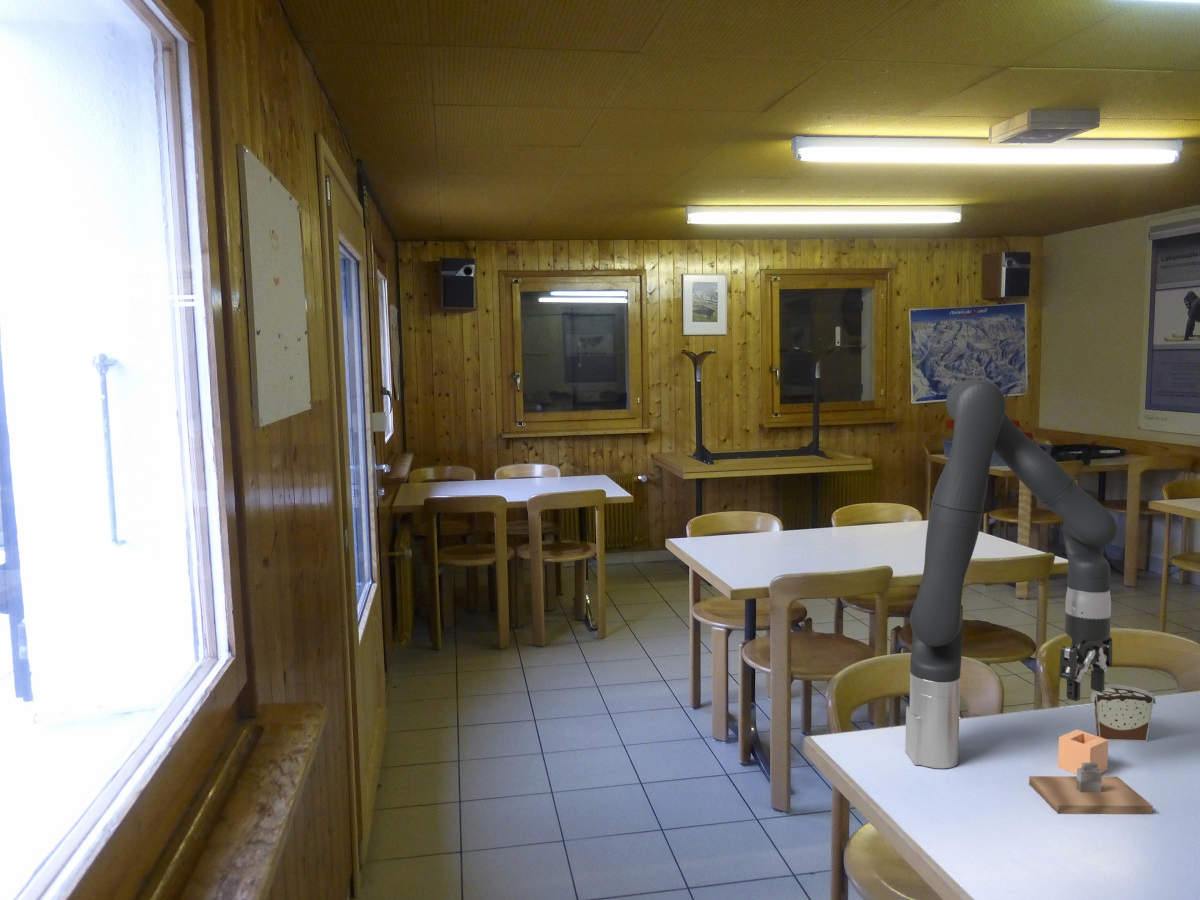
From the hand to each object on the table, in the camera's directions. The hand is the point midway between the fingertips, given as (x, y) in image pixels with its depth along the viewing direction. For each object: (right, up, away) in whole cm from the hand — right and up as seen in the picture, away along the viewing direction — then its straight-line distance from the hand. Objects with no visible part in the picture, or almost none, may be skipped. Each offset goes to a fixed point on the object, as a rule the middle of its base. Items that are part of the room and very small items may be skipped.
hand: (1085, 694), depth 167 cm
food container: (+16, -13, +17) cm, 26 cm away
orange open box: (0, -15, +1) cm, 15 cm away
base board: (-5, -16, -10) cm, 20 cm away
